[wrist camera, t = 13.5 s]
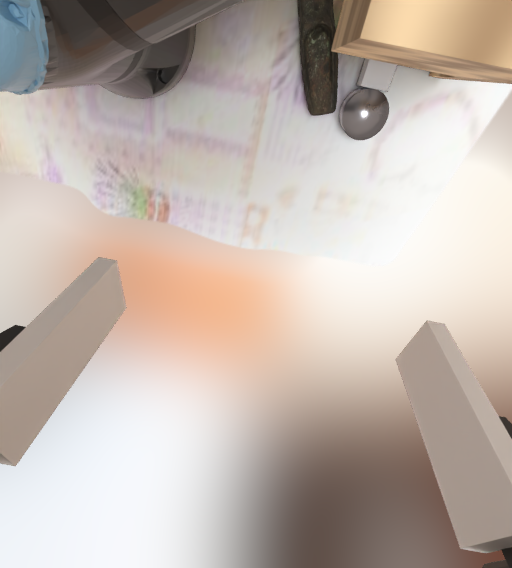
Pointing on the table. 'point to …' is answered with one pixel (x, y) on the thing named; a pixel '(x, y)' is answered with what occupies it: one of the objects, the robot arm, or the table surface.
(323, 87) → the tool
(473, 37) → the wall cabinet
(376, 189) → the table surface
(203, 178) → the table surface
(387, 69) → the gray stepped block
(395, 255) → the table surface
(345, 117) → the grey short cylinder
